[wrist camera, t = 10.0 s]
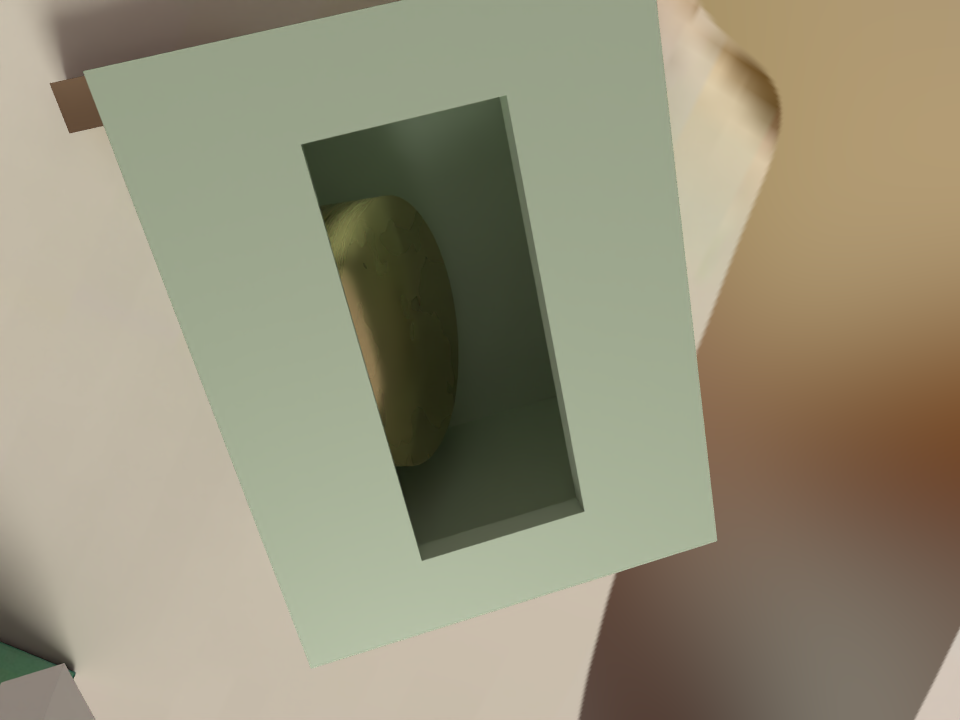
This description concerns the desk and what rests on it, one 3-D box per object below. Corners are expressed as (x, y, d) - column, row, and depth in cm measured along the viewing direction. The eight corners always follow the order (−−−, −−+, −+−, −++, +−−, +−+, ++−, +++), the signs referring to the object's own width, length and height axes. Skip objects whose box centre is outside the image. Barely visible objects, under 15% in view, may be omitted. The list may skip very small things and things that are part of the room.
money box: (171, 68, 28) (83, 71, 17) (521, -10, 29) (650, -55, 18) (309, 475, 34) (311, 668, 23) (590, 394, 36) (717, 540, 25)
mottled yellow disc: (401, 433, 32) (277, 504, 24) (371, 211, 31) (232, 203, 23) (470, 430, 31) (367, 503, 23) (441, 200, 30) (322, 188, 22)
